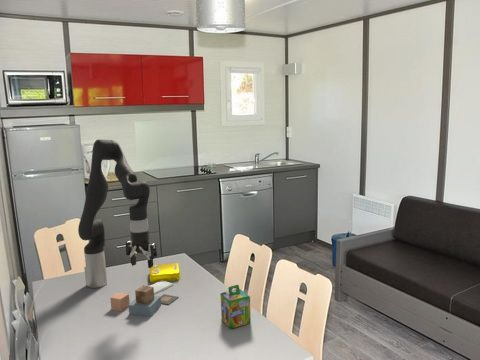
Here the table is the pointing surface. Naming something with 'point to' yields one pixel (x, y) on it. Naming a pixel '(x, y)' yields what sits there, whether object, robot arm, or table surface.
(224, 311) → the chalk box
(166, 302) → the tile
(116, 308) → the terracotta cube
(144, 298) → the walnut cube
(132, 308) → the slate base block
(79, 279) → the table surface
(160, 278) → the element tile
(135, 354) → the table surface
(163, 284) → the hard drive
